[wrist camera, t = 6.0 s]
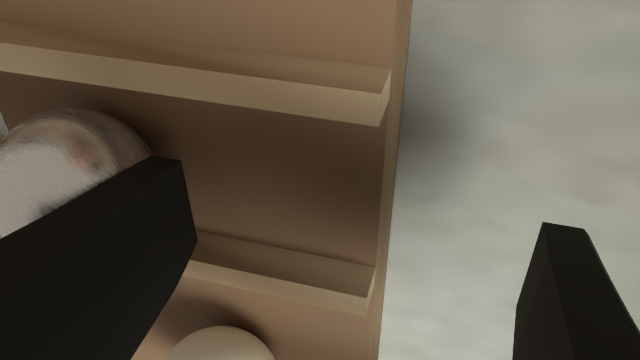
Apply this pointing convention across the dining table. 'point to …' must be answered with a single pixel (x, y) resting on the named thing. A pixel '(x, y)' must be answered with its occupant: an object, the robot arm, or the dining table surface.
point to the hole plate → (244, 147)
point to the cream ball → (220, 345)
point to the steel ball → (60, 161)
